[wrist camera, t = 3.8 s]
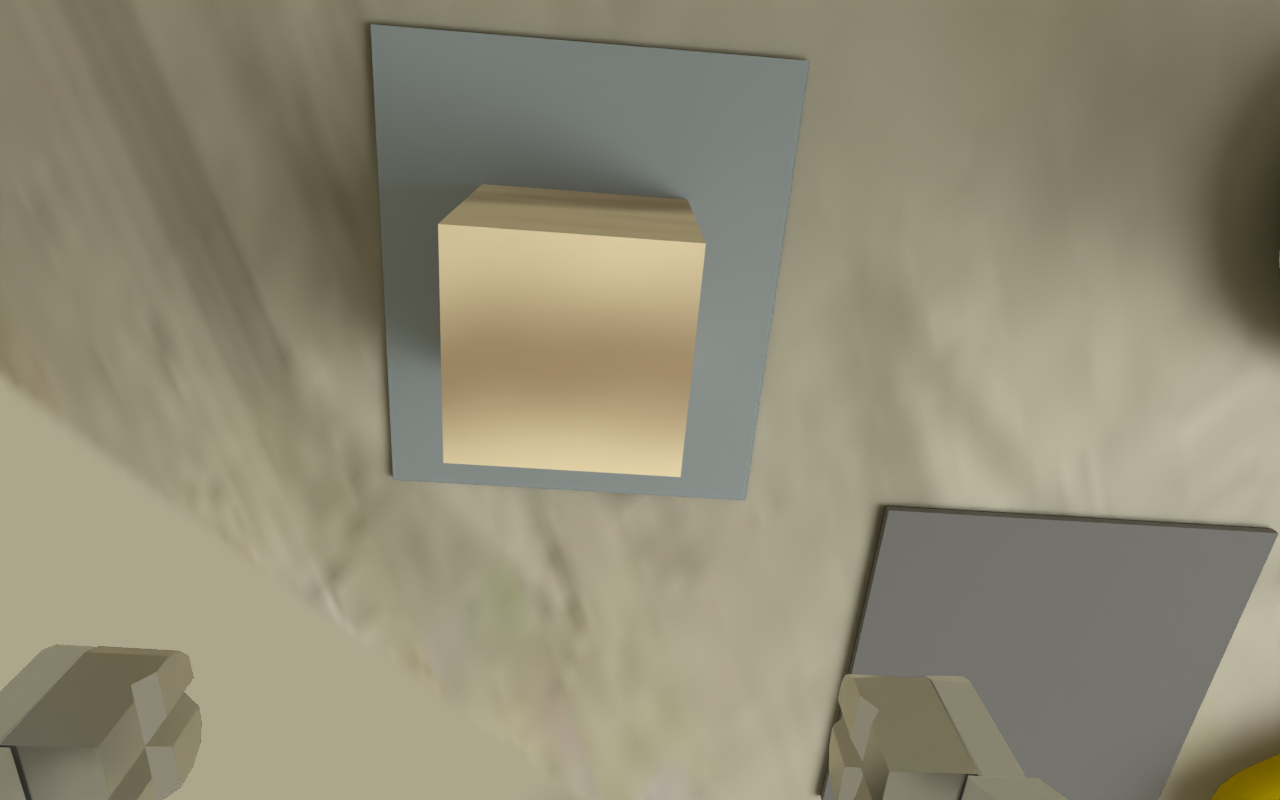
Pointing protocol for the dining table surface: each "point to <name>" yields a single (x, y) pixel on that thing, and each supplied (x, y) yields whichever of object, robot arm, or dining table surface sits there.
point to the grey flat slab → (588, 162)
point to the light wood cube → (568, 329)
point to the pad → (1063, 631)
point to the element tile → (1253, 783)
